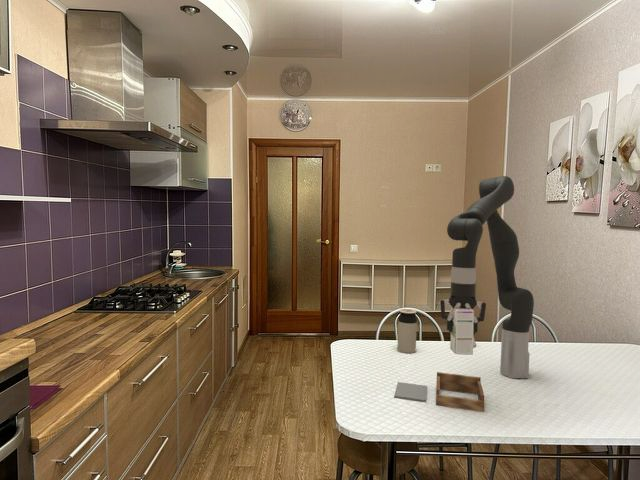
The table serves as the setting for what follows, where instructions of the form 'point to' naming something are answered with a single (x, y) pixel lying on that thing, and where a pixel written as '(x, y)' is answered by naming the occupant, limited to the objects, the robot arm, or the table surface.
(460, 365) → the table surface
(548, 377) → the table surface
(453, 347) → the syrup box
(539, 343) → the table surface
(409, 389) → the mat
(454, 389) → the frame
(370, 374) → the table surface
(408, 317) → the travel mug
